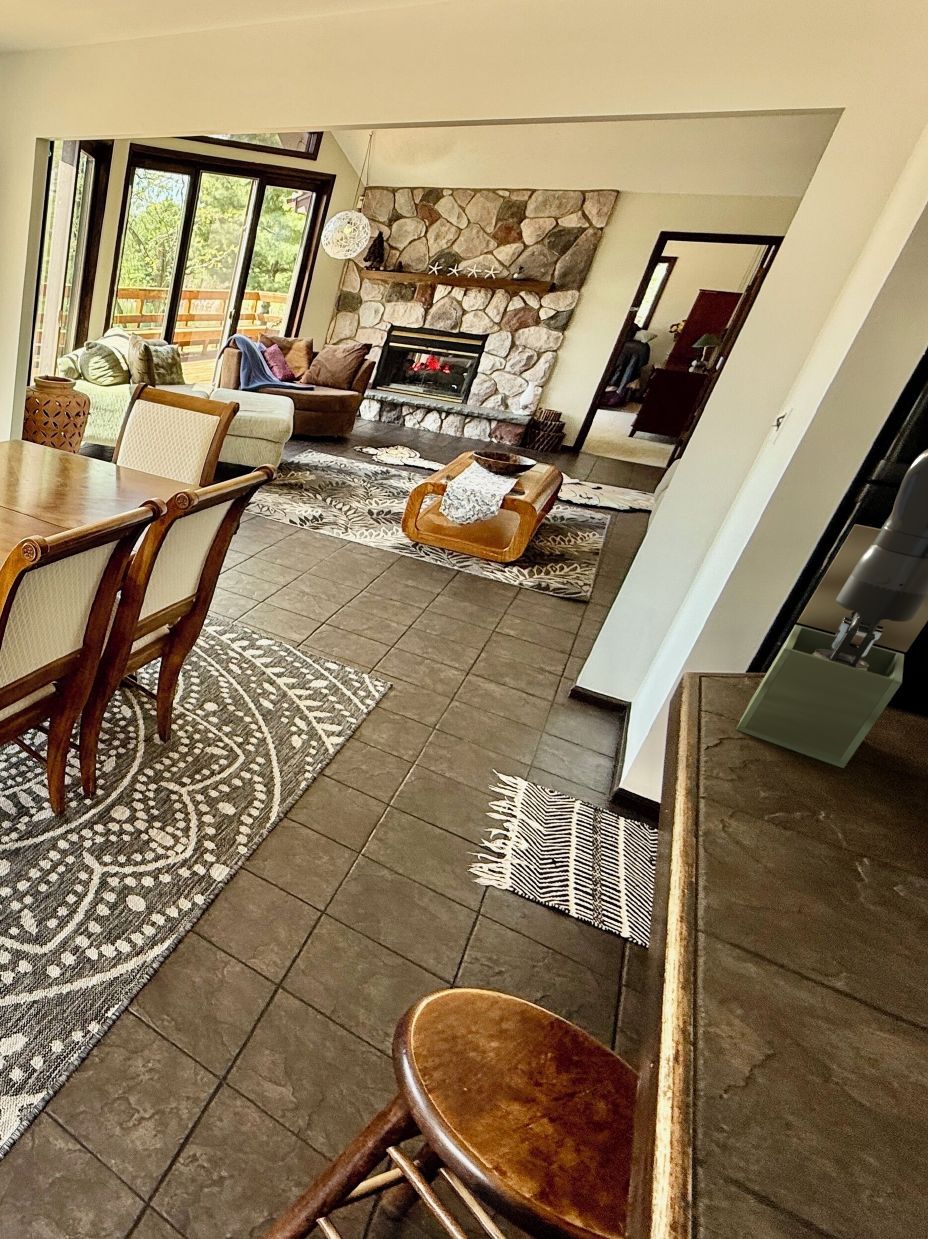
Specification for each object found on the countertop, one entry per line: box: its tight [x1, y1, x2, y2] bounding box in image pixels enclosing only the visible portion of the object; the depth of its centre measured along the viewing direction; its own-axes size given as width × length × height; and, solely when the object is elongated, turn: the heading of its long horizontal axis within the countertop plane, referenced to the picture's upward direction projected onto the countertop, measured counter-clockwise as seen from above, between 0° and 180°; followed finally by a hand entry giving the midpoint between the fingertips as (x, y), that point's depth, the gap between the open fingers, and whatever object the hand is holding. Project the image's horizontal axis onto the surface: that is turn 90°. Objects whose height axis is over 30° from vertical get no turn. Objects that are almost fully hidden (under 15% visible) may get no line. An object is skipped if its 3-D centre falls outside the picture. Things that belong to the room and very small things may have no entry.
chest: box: [735, 624, 905, 769], centre depth 112 cm, size 16×12×14 cm
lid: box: [796, 523, 928, 653], centre depth 110 cm, size 16×12×1 cm
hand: (826, 683), depth 111 cm, fingers closed on can, 6 cm apart
